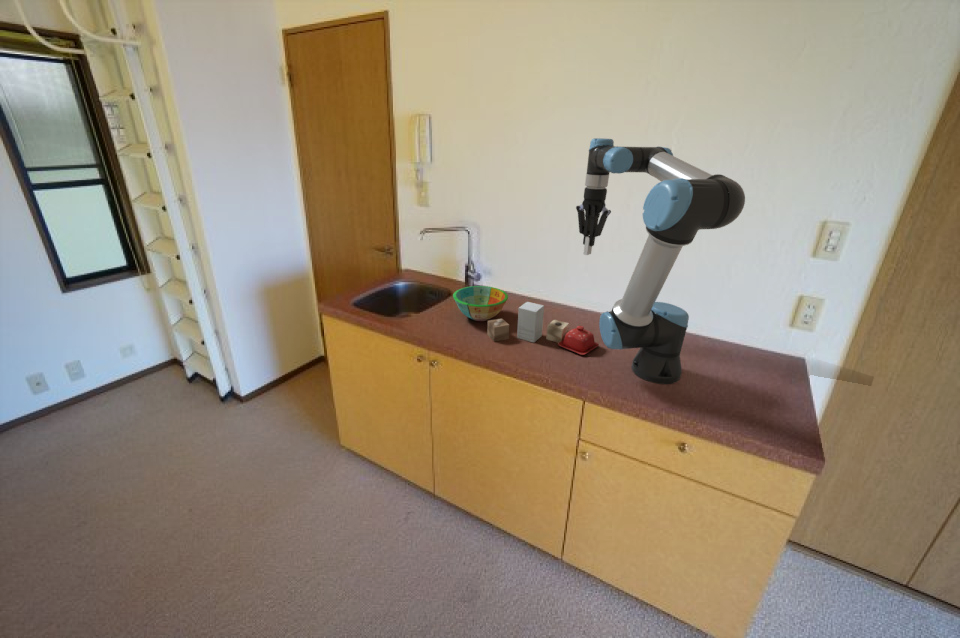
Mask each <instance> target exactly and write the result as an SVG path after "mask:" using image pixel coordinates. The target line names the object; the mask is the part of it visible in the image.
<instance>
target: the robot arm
mask: <svg viewBox="0 0 960 638" xmlns="http://www.w3.org/2000/svg"><path fill="white" fill-rule="evenodd" d="M614 143H615V142H614V139H613V138H600V137H599V138H592V139H591V140H590V144H589V148H588V158H587V166H586V174H585V183H584V186H585V187H584V191H583V201H582V202H581V204H580V205H576V207H575V209H576V211H577V218H578V231H579V234H582V235H583V239H582V240H583V241H582V245H584V246H583V255H584V256H589V255H591V254H592V250H593V249H592V248H593V246H595V243H596V242H595V241H596V238H598V237H600V236H601V235H602V233H603V230H604V228H605V224H606V221H607V219H608V217H609V215H610V214H611V213H612V211H611V209H608V208H607V207H606V198H607V193H608V189H607V187H608V184H609V178H610V174H619V175H620V174H624V173H646V174H649V176H652V177H654V178H655V179H657V180H658V181H660V182H657V183H656V184H655V185H654V186H653V187H652V188H651V189H650V190H649V191H648V194H647V195H646V196H645V197H646V198H645V200H644V203H643V206H642V210H643V212H642V221H643V223H644V225H645V230H646V233H648V236H647V239H646V240H645V244H644V246H643V248H642V251H641V253H640V256H639V258H638V260H637V263H636V265H635V267H634V270H633V272H632V274H631V277H630V279H629V281H628V284H627V286H626V289H625V292H624V293H623V296H622V299H618V300H617V301H615V302H614V304H613V306H612V309H611V311H609V310H607V311H605V312H602V313H601V314H600V317H599V323H598V324H599V326H598V327H599V332H600V336H601V340H602V341H603V344H604V345H605V346H606V347H607V348H608V349H611V350H620V351H621V350H627V349H638V348H640V349H638V352H637V353H636V354H635V356H634V357H633V359H632V363H631V370H632V372H633V373H634V374H635V375H636V376H637V377H639V378H641V379H642V380H645V381H647V382H650V383H652V384H659V385H671V384H676V383H678V381H680V379H681V376H682V372H683V371H682V370H683V369H682V363H681V361H682V360H681V352H682V349H683V343H684V340H685V337H686V336H685V335H686V333H687V329H688V328H689V319H690V315H689V313H688V312H687V311H686V310H685V309H683V308H681V307H679V306H678V305H675V304H671V303H669V302H663V301H657V299H658V298H659V295H660V294H661V291H662V289H663V287H664V285H665V283H666V281H667V279H668V278H669V275H670V273H671V271H672V269H673V266H674V265H675V263H676V261H677V259H678V256H679V254H680V252H681V251H682V248H683V247H685V246H688V245H690V244H691V243H692V242H693V241H694V239H695V237H696V235H697V233H698V232H699V231H700V230H717V229H721V228H723V227H726V226H729V225H730V224H732V223H733V222H734V221H735V220H736V219H737V218H739V216H740V215H741V213H742V212H743V209H744V208H745V203H746V196H745V195H746V194H745V191H744V188H743V187H742V186H741V185H740V184H739V183H738V182H737V181H736V180H734V179H732V178H730V177H728V176H726V175H723V174H719V173H717V174H711V173H708V172H707V171H704V170H703V169H701V168H699V167H696V166H695V165H693V164H690V163H689V162H686V161H684V160H682V159H680V158H678V157H676V156H674V154H673V152H672V149H671V148H669V147H663V146H614Z"/></svg>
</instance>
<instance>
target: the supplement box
mask: <svg viewBox="0 0 960 638" xmlns="http://www.w3.org/2000/svg"><path fill="white" fill-rule="evenodd" d="M517 311H518V316H517V317H518V318H517V332H516V333H517V336H516V338H517V339H520V340H523V341H526V342H530V343H533V344H534V343H535V342H536V341H537V340H539V339H540V338H541V337H542V336H543V327H544V326H543V325H544V314H545V305H543V304H539V303H534V302H530V301H525V303H523V304H522V305H521V306H519V307H518V310H517Z"/></svg>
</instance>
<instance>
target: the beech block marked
mask: <svg viewBox="0 0 960 638" xmlns="http://www.w3.org/2000/svg"><path fill="white" fill-rule="evenodd" d="M569 324H570V323H569V322H565V321H561V320H557V319H553V320H552V321H550V323H548V324H547V326H546V327H547V328H546V338H545V339H546V340H547V341H550V342H555V343H557V344H558V343H560V342H561V341H563V340H564V338H565V335H566V333H568V332H569V328H570V327H569V326H570V325H569Z"/></svg>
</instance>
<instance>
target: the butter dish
mask: <svg viewBox="0 0 960 638" xmlns="http://www.w3.org/2000/svg"><path fill="white" fill-rule="evenodd" d="M557 345H558V346H559V347H561V348H562V349H563V348H564V349H565V350H568V351H571V352H574V353H577V354H579V355H581V356H584V355H586V354H588V353H590V352H591V351H593V350H594V349H596V348H597V347H598V346H599V343H598V342H595V336H594V333H593V332H592V331H589V330H586V329H585V327H584V326H583V325H578V326H576V327H575V328H572V329H570V330H568V333H566V335H565V338H564V340H563V341H561V342H560V343H557Z"/></svg>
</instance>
